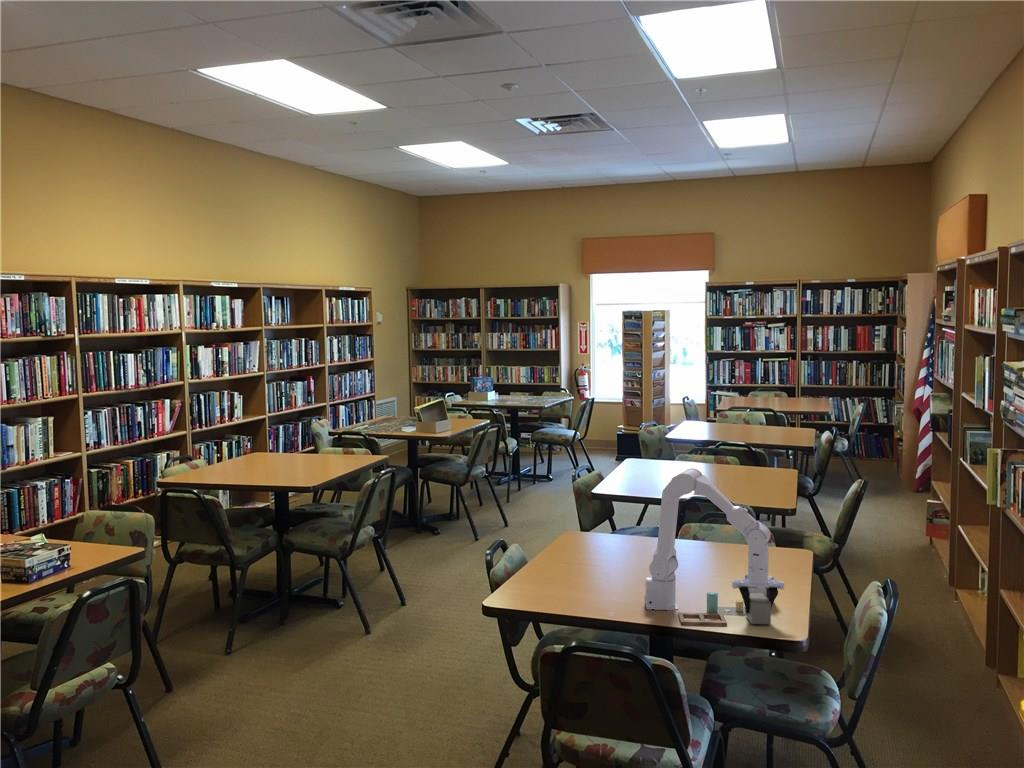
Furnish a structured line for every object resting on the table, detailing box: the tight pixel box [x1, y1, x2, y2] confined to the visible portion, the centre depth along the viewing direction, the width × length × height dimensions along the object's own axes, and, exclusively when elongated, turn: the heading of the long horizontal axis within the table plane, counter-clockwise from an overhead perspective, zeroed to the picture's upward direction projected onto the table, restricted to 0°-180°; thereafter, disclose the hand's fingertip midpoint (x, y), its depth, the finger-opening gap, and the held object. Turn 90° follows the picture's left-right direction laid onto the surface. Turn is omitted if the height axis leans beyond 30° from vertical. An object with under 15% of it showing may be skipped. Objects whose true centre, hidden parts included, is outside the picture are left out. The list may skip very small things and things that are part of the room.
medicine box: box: [744, 573, 775, 604], centre depth 250 cm, size 8×4×9 cm, turn 48°
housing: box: [745, 593, 772, 625], centre depth 233 cm, size 8×5×6 cm
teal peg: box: [706, 591, 719, 613], centre depth 241 cm, size 3×3×6 cm
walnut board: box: [677, 611, 728, 627], centre depth 234 cm, size 13×8×1 cm, turn 84°
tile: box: [718, 599, 747, 617], centre depth 242 cm, size 9×7×3 cm
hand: (757, 612), depth 233 cm, fingers closed on housing, 5 cm apart
